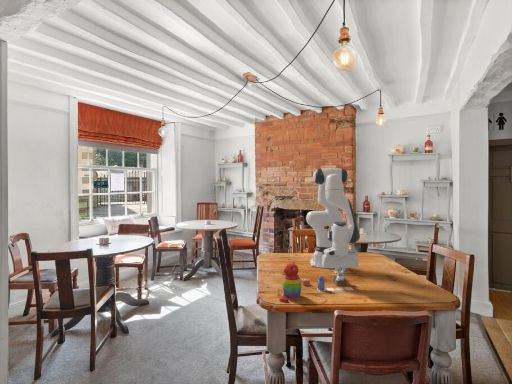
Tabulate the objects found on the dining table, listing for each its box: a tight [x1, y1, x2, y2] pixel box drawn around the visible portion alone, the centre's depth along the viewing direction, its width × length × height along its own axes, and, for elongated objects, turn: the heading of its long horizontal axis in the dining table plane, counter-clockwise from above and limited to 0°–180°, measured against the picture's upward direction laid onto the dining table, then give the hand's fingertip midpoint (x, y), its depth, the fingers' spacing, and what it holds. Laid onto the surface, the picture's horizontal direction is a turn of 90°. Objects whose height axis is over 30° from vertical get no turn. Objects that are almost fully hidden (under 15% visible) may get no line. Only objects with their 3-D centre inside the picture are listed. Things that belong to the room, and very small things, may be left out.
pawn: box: [317, 275, 326, 292], centre depth 156 cm, size 4×4×7 cm
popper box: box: [331, 276, 350, 287], centre depth 166 cm, size 7×7×4 cm
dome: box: [336, 275, 344, 280], centre depth 166 cm, size 4×4×4 cm
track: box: [315, 286, 354, 292], centre depth 157 cm, size 8×22×1 cm, turn 94°
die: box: [300, 277, 311, 287], centre depth 165 cm, size 4×4×4 cm
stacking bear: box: [279, 262, 303, 303], centre depth 147 cm, size 11×10×18 cm
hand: (340, 275), depth 166 cm, fingers closed, pressing on dome
